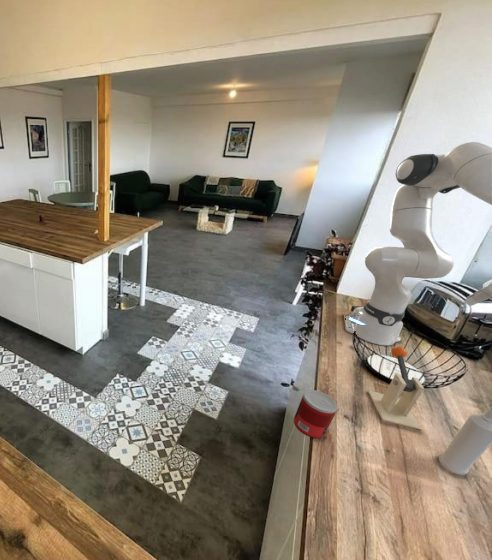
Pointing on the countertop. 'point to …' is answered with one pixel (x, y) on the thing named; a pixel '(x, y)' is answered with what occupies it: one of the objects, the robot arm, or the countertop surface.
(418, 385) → the switch base
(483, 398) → the countertop surface
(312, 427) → the canned food
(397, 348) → the switch lever
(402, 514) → the countertop surface
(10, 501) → the countertop surface
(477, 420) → the bottle
